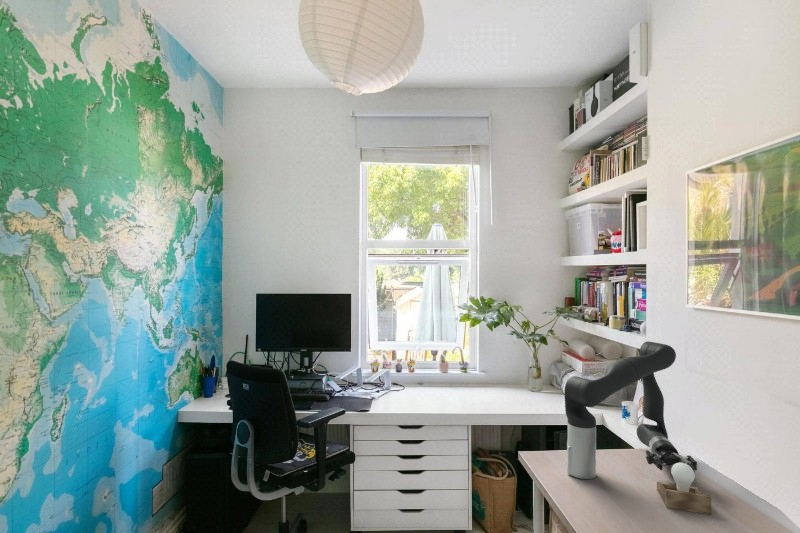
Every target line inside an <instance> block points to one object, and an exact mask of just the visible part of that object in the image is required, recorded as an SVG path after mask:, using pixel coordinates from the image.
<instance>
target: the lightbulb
mask: <svg viewBox="0 0 800 533" xmlns="http://www.w3.org/2000/svg"><path fill="white" fill-rule="evenodd" d="M694 472H695V470H694V471H693V469H692V468H691V467H690V466H689V465H687V463H676V464H674V465H671V468H670V473H671V476H672V478H673V480H674V481H675V484H676V485H677V490H678V491H684V492H689V487H690V486H692V484H693V482H694V481H695V478H696V475H695V473H694Z"/></svg>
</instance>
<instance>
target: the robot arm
mask: <svg viewBox="0 0 800 533" xmlns="http://www.w3.org/2000/svg"><path fill="white" fill-rule="evenodd" d="M676 358H677V353H676V350H675V349H674V348H673V347H672V346H670V345H668V344H665V343H660V342H653V341H644V342H643V343H642V344H641V346H640V348H639V355H638V356H637V355H635V356H629V357H624V358H623V357H622V358H620V359H618V360H616V361H613V362H612V363H610V364H609V365H608V366H607V367H606V369H605V373H604V375H603V376H602V377H600V378H596V379H588V378H584V377H581V376H575V375H574V376H569V378H568V379H567V380H566V382H565V386H564V392H563V393H564V407H565V408H564V411H565V412H564V413H565V415H566V419H567V440H566V470H567V475H568V476H572V477H574V478H577V479H582V480H593V479H595V478H596V477H597V420H596V417H595V416H594V415H593V413H591V412H590V411H589V409H588V408H593V407H596V406H598V405H599V404H601V403H602V402H604V401H605V400H607V399H608V398H609V397H611V396H612V395H613V394H615V393H617V392H619V391H621V390H623V389H624V388H626V387H628V386H630V385H632V384H634V383H636V382H638V381H640V380H641V381H642V389H643V400H642V401H643V402H642V403H643V404H642V415H643V417H644V418H645V419H647V420H650V421H652V422H655V423H656V424H650V423H641V424H639V425H638V426H637V427H636V436H637V439H638V440H639V441H640V442H641V443H642V444H643V445H645V446H647V447H648V448H649V449H650V450H647V449H646V450H645V459H646V461H647V464H648V465H653V464H654V466H655V467H656V469H659V470H660V471H663V468H664V467H663V466H673V465H674V464H676V463H685V464H687V465H689V466H690V467H691V468H692V469H693V471H694V474H695V471H697V470H698V462H697V461H696V460H695V459H694V458H693V457H692V455H687V456H686V457H684V456H682V455H680V453H679V451H678V450H677V448H676V447H675V446H674V444H673V443H672V442H671V441H670V440H669V436H668V431H667V428H666V423H665V418H664V417H665V416H664V412H665V400H664V395H663V392H662V390H661V387H660V386H659V384H658V381H657V380H656V377H655V373H656V372H657V373H658V372H660V371H663V370H666V369H668V368H670V367H671V366H673V364H674V362H676Z"/></svg>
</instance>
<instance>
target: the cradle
mask: <svg viewBox="0 0 800 533" xmlns="http://www.w3.org/2000/svg"><path fill="white" fill-rule="evenodd" d="M656 490H657V493H658V495H659V496H660V498H661V500H662V502H663V504H664V505H665V508H667V509H674V510H682V511H687V512H693V513H698V514H700V513H701V514H706V515H712V496H711V495H710V494H704V493H702V491H701V489H699V487H697V486H692V485H690V487H689V492H684V491H678V490H677V485H676V483H670V482H669V483H668V482H662V481H657V482H656Z"/></svg>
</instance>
